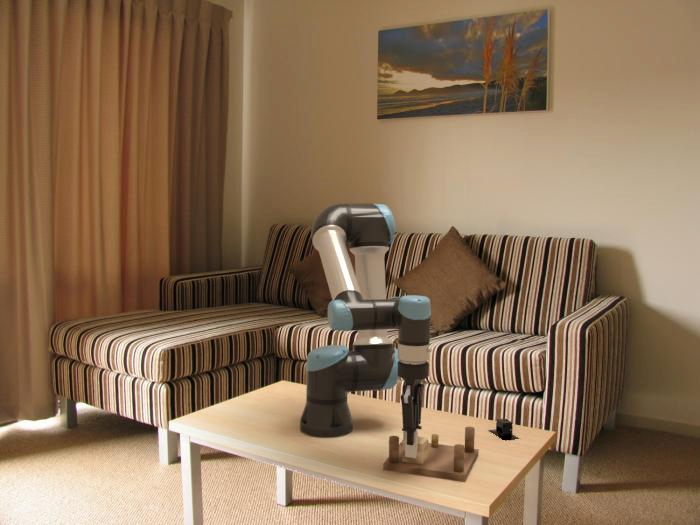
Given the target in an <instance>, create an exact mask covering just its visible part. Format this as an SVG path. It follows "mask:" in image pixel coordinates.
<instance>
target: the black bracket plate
mask: <svg viewBox="0 0 700 525" xmlns="http://www.w3.org/2000/svg"><path fill="white" fill-rule="evenodd" d="M513 429H514V428H513V422H512V421H511V420H509V419H507V418H496V422H495V429H487V432H489V433H490V434H492V433H493V435H494V434H495V435H496V436H495V435H494V436H495V437H497V436H498V437H499V438H498V437H497V438H498V439H500V438H501V439H502V440H505V441H506V442H508V441H516V440H515V439H519V438H520V437H518V436H517V435H515V434H514V435H513ZM516 436H517V437H516ZM501 439H500V440H501ZM502 440H501V441H502ZM507 440H508V441H507ZM505 441H504V442H505Z"/></svg>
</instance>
